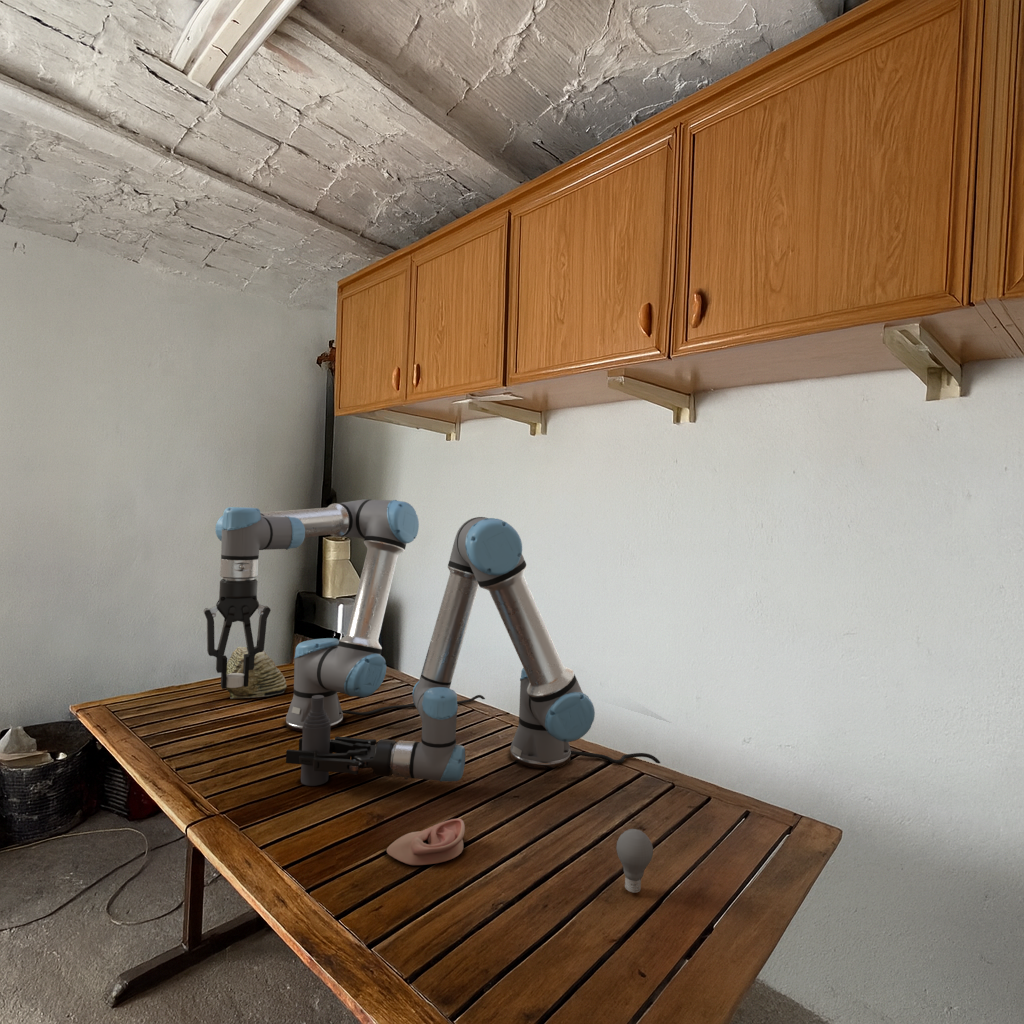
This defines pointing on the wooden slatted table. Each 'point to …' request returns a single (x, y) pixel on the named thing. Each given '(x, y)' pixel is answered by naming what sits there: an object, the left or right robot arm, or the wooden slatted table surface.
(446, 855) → the anatomical model
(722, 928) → the wooden slatted table surface
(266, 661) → the fossil
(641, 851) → the light bulb
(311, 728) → the bottle
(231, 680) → the cap
